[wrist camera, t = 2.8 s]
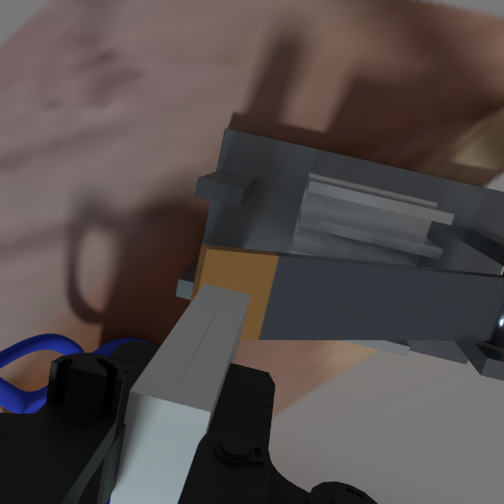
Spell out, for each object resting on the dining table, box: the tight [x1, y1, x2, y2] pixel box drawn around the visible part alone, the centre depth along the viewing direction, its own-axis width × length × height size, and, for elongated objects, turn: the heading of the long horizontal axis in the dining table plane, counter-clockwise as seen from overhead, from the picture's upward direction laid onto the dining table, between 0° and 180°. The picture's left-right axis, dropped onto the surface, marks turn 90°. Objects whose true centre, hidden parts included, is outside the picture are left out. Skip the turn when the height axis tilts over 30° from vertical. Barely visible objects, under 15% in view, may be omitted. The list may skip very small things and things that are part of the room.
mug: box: [0, 334, 151, 504], centre depth 32 cm, size 8×12×10 cm
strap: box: [190, 244, 504, 348], centre depth 22 cm, size 19×4×1 cm, turn 76°
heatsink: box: [176, 128, 504, 381], centre depth 28 cm, size 20×12×9 cm, turn 78°
